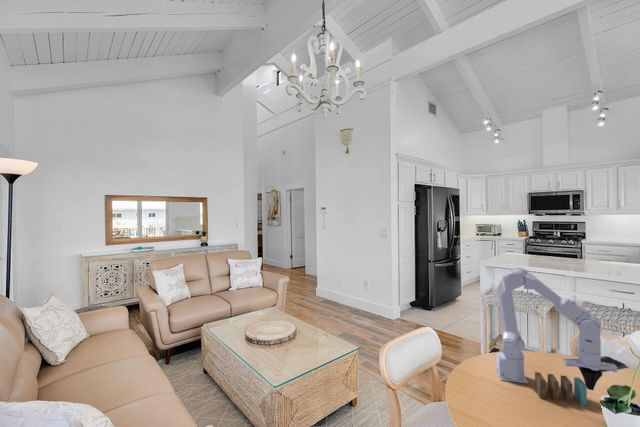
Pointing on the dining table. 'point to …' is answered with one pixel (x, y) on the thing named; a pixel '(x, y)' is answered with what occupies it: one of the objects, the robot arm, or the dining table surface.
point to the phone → (612, 362)
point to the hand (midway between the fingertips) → (589, 388)
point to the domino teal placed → (580, 391)
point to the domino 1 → (540, 385)
